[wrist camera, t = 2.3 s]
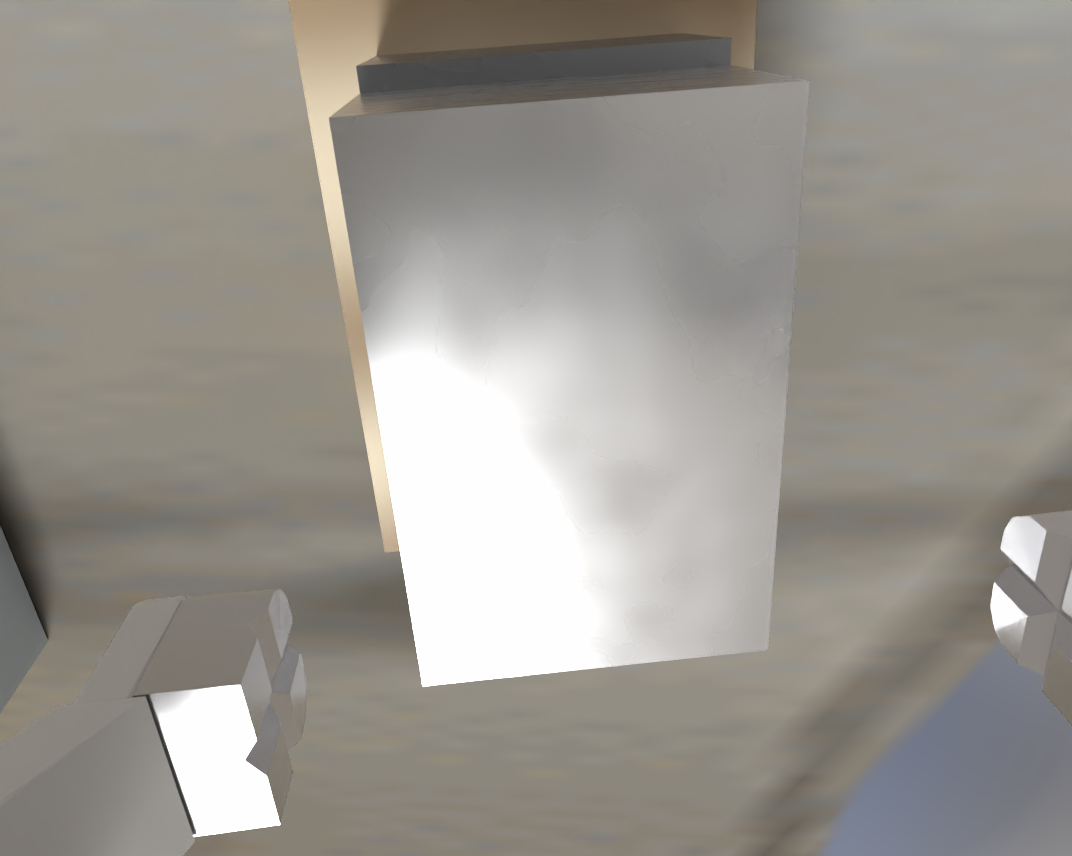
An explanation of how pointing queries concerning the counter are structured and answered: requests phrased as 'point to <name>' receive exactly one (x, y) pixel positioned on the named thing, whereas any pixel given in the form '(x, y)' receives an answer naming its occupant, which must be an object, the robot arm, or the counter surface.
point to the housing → (578, 342)
